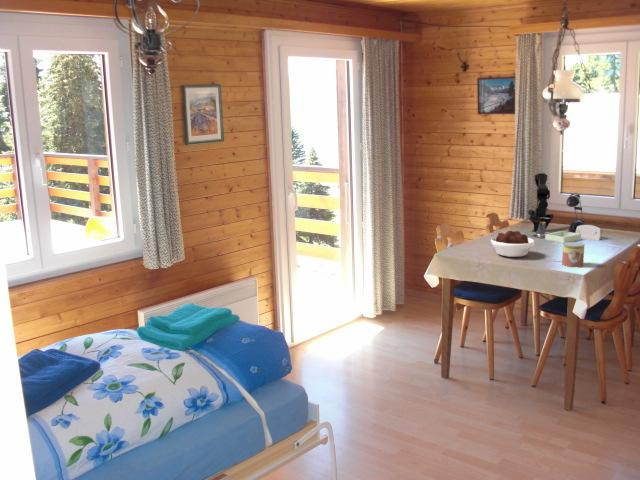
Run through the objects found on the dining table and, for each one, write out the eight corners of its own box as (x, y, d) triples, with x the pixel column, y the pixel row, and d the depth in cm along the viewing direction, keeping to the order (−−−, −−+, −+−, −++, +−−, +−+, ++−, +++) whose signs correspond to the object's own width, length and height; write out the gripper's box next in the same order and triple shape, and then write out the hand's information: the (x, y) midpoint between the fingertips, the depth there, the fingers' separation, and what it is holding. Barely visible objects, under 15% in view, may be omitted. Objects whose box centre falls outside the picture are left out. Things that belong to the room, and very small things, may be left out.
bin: (562, 236, 480) (562, 230, 479) (580, 240, 469) (581, 233, 468) (545, 240, 469) (545, 234, 468) (563, 243, 458) (564, 237, 457)
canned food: (563, 267, 398) (564, 245, 396) (560, 262, 409) (561, 241, 407) (584, 267, 396) (586, 246, 394) (581, 263, 407) (582, 242, 405)
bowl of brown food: (501, 249, 444) (502, 225, 441) (540, 254, 429) (542, 229, 426) (482, 256, 425) (483, 231, 422) (523, 262, 410) (524, 236, 407)
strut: (539, 232, 483) (540, 220, 481) (545, 233, 480) (545, 221, 478) (536, 233, 480) (536, 221, 479) (541, 234, 477) (541, 222, 476)
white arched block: (573, 238, 475) (575, 223, 476) (574, 239, 479) (577, 224, 480) (599, 240, 466) (601, 225, 467) (601, 242, 470) (603, 226, 471)
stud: (538, 234, 487) (539, 231, 486) (550, 236, 479) (550, 233, 479) (530, 236, 481) (530, 233, 481) (541, 238, 474) (541, 235, 474)
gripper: (540, 203, 488) (539, 226, 491) (522, 206, 477) (521, 229, 480) (554, 205, 479) (553, 228, 483) (536, 208, 468) (535, 232, 472)
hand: (540, 229), depth 479 cm, fingers open, 9 cm apart
